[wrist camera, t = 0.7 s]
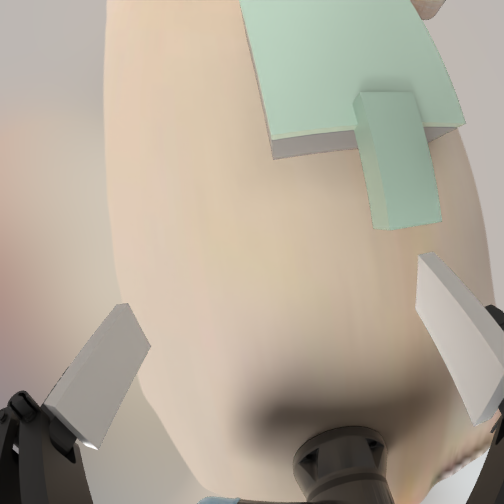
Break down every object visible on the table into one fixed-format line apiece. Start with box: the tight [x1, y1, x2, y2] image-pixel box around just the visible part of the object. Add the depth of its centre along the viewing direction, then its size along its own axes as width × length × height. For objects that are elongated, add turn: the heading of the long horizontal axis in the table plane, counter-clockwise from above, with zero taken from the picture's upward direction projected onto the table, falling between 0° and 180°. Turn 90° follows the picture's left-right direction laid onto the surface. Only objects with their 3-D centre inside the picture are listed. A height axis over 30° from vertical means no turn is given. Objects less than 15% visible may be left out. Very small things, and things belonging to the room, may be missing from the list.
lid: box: [239, 0, 466, 230], centre depth 21 cm, size 27×20×5 cm
